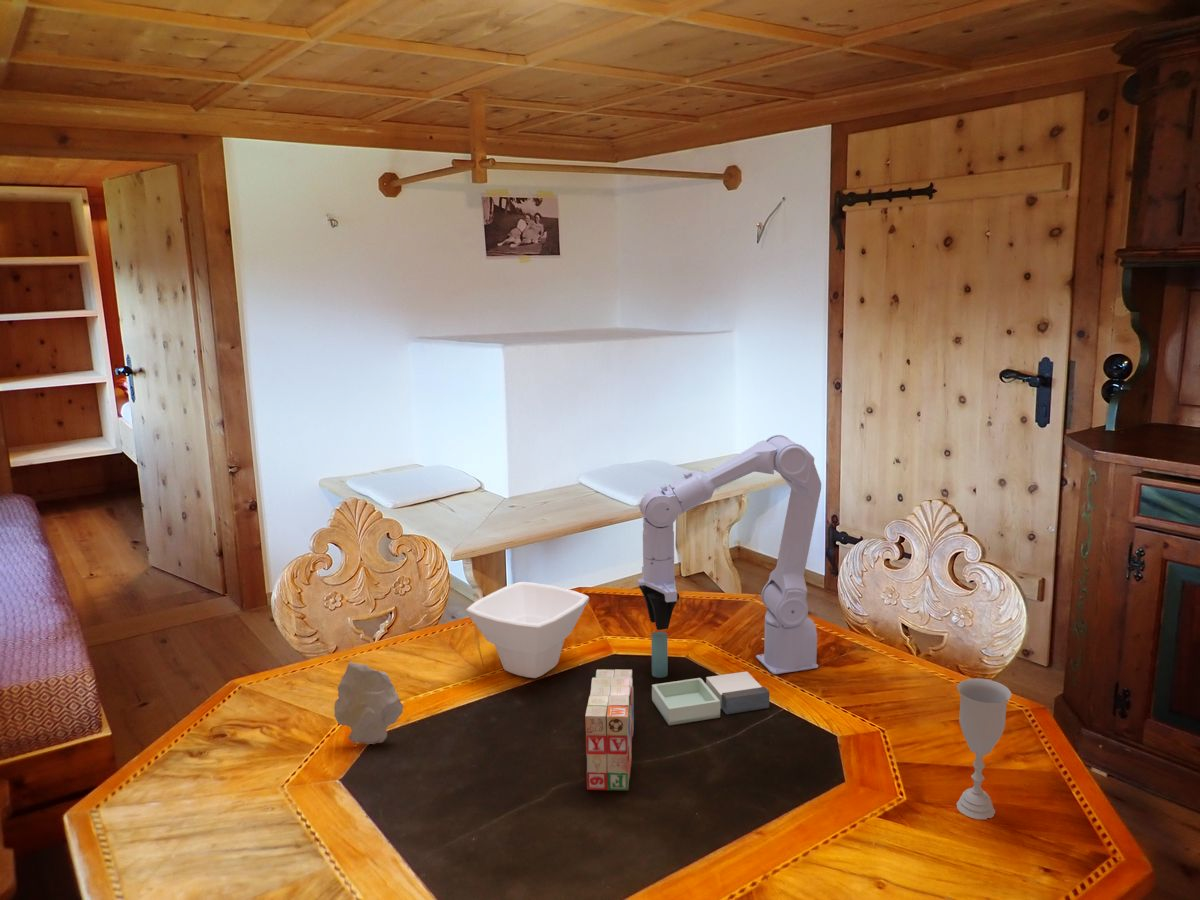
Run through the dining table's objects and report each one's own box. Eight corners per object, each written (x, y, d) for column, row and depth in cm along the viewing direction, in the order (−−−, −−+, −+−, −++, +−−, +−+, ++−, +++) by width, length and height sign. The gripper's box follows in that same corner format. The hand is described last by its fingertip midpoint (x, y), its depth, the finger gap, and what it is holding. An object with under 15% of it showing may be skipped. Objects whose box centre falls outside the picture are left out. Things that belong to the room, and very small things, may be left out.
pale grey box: (746, 686, 163) (747, 671, 163) (763, 704, 157) (763, 688, 156) (705, 692, 161) (706, 677, 161) (720, 710, 155) (720, 694, 154)
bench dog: (764, 702, 156) (764, 686, 156) (769, 707, 155) (769, 691, 154) (721, 709, 155) (721, 693, 154) (726, 714, 153) (726, 698, 152)
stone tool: (407, 736, 148) (401, 652, 145) (404, 747, 144) (398, 662, 141) (340, 740, 147) (332, 656, 144) (335, 752, 144) (327, 666, 141)
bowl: (599, 661, 174) (597, 594, 171) (540, 703, 158) (537, 629, 155) (523, 642, 184) (520, 578, 181) (460, 679, 168) (456, 609, 165)
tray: (700, 693, 160) (700, 677, 160) (720, 717, 152) (720, 701, 151) (652, 700, 158) (651, 684, 158) (669, 725, 149) (668, 709, 149)
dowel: (664, 669, 170) (664, 630, 168) (669, 676, 167) (669, 636, 166) (649, 671, 169) (649, 632, 168) (654, 678, 166) (654, 638, 165)
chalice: (997, 830, 120) (1007, 707, 117) (944, 814, 124) (952, 695, 120) (1005, 802, 126) (1015, 685, 123) (955, 788, 130) (962, 674, 126)
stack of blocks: (597, 718, 153) (596, 651, 150) (634, 719, 152) (633, 652, 150) (586, 791, 132) (584, 714, 129) (629, 792, 131) (627, 715, 129)
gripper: (626, 546, 169) (627, 613, 172) (650, 570, 156) (650, 643, 158) (661, 542, 171) (662, 608, 174) (688, 566, 157) (688, 638, 160)
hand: (659, 625), depth 166 cm, fingers open, 3 cm apart
